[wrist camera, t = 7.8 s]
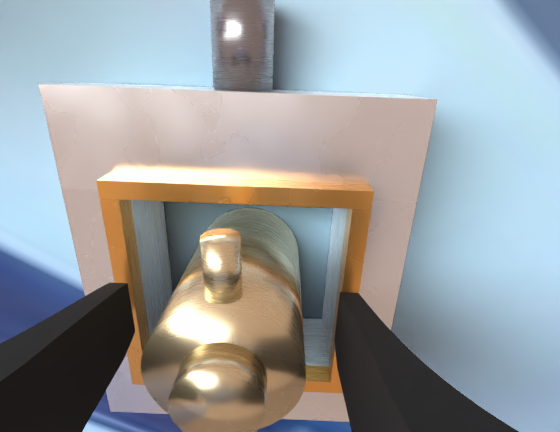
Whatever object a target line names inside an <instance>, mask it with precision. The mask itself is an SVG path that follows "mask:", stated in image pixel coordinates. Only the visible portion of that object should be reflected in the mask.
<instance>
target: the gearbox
mask: <svg viewBox="0 0 560 432" xmlns="http://www.w3.org/2000/svg"><path fill="white" fill-rule="evenodd" d="M210 8H211V35H212V62H213V87H196V86H170V85H144V84H117V83H61V84H39V89H40V93H41V98H42V102H43V107H44V111H45V116H46V120H47V125H48V130H49V134H50V139H51V143H52V148H53V152H54V157H55V161H56V166H57V170H58V175H59V180H60V184H61V189H62V193H63V198H64V202H65V207H66V211H67V216H68V220H69V225H70V230H71V234H72V239H73V243H74V248H75V252H76V257H77V261H78V266H79V270H80V275H81V279H82V284H83V289H84V293H85V296H86V295H88V294H90V293H91V292H93V291H95V290H97V289H98V288H100V287H102V286H104V285H106V284H108V283H110V282H111V283H128V289H129V295H130V301H131V307H132V313H133V320H134V326H135V334H134V336H133V339H132V341H131V344H130V346H129V348H128V351H127V353H126V355H125V358H124V360H123V361H122V363H121V365H120V367H119V369H118V370H117V372H116V374H115V376H114V377H113V379H112V381H111V383H110V384H109V386H108V388H107V389H106V393H107V398H108V402H109V407H110V411H112V412H135V413H158V414H168V413H167V412H166V411H164V410H163V409H162V408H161V407H160V406H159V405H158V404H157V403H156V402H155V401H154V399H153V398H152V397H151V395H150V394H149V392H148V391H147V389H146V386H145V384H144V382H143V378H142V374H141V358H142V354H143V350H144V348H145V346H146V344H147V342H148V340H149V338H150V336H151V334H152V332H153V330H154V328H155V326H156V324H157V323H158V321H159V319H160V317H161V315H162V313H163V311H164V309H165V307H166V305H167V304H168V302H169V300H170V298H171V296H172V294H173V291H172V281H171V272H170V262H169V252H168V242H167V232H166V222H165V213H164V203H163V201H171V202H196V203H221V204H246V205H270V206H295V207H320V208H333V214H332V224H331V234H330V244H329V253H328V263H327V273H326V283H325V293H324V303H323V312H322V319H312V318H303V333H304V349H305V365H306V383H305V388H304V391H303V394H302V396H301V398H300V400H299V402H298V403H297V404H296V406H295V407H294V408H293V409H292V410H291V411H290V412H289V413H288V414H287V415H286V416H284V417H283V418H282V419H295V420H318V421H341V422H349V417H348V413H347V409H346V404H345V400H344V396H343V391H342V387H341V383H340V378H339V374H338V369H337V361H336V352H335V342H334V338H335V330H336V321H337V313H338V305H339V297H340V292H351V293H359V294H360V295H361V297H362V298H363V299H364V300H365V301H366V303H367V304H368V305H369V306H370V307H371V309H372V310H373V311H374V312H375V313H376V314H377V316H378V317H379V318H380V319H381V320H382V321H383V323H384V324H385V325H386V326H387V327H388V328H389V329H390V330H391V328H392V323H393V318H394V313H395V308H396V303H397V298H398V293H399V288H400V283H401V278H402V273H403V268H404V263H405V258H406V253H407V248H408V243H409V238H410V233H411V228H412V223H413V218H414V213H415V208H416V203H417V198H418V193H419V188H420V183H421V178H422V173H423V168H424V164H425V159H426V154H427V149H428V144H429V139H430V134H431V129H432V124H433V119H434V114H435V109H436V104H437V99H431V98H424V97H418V96H412V95H405V94H379V93H353V92H326V91H300V90H274V89H273V54H274V14H275V0H210Z"/></svg>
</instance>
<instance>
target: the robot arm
mask: <svg viewBox="0 0 560 432" xmlns="http://www.w3.org/2000/svg"><path fill="white" fill-rule="evenodd" d="M134 334H135V326H134V320H133V313H132V307H131V301H130V295H129V289H128V283H111V282H110V283H108V284H106V285H104V286H102V287H100V288H98V289H97V290H95V291H93V292H91V293H90V294H88V295H86V296H85V297H83V298H81V299H80V300H78V301H76V302H75V303H73V304H71V305H70V306H68V307H66V308H64V309H63V310H61V311H59V312H58V313H56V314H54V315H53V316H51V317H49V318H47V319H45V320H44V321H42V322H40V323H38V324H36V325H35V326H33V327H31V328H29V329H27V330H25V331H24V332H22V333H20V334H18V335H16V336H14V337H12V338H11V339H9V340H7V341H5V342H3V343H1V344H0V432H82V431H83V429H84V427H85V425H86V423H87V422H88V420H89V418H90V417H91V415H92V413H93V411H94V410H95V408H96V406H97V405H98V403H99V401H100V400H101V398H102V396H103V394H104V393H105V391H106V389H107V388H108V386H109V384H110V383H111V381H112V379H113V377H114V376H115V374H116V372H117V370H118V369H119V367H120V365H121V363H122V361H123V360H124V358H125V355H126V353H127V351H128V348H129V346H130V344H131V341H132V339H133V336H134ZM334 342H335V352H336V361H337V369H338V374H339V378H340V383H341V387H342V391H343V396H344V400H345V404H346V409H347V413H348V417H349V422H350V426H351V430H352V432H518V431H517V430H515V429H513V428H512V427H510V426H509V425H507V424H505V423H504V422H502V421H501V420H499V419H497V418H496V417H494V416H493V415H491V414H490V413H488V412H487V411H485V410H484V409H482V408H481V407H479V406H478V405H477V404H475V403H474V402H472V401H471V400H470V399H468V398H467V397H466V396H464V395H463V394H461V393H460V392H459V391H457V390H456V389H455V388H453V387H452V386H451V385H449V384H448V383H447V382H446V381H444V380H443V379H442V378H441V377H440V376H438V375H437V374H436V373H435V372H434V371H432V370H431V369H430V368H429V367H428V366H426V365H425V364H424V363H423V362H422V361H421V360H420V359H419V358H417V357H416V356H415V355H414V354H413V353H412V352H411V351H410V350H409V349H408V348H407V347H406V346H405V345H404V344H403V343H402V342H401V341H400V340H399V339H398V338H397V337H396V336H395V335H394V334H393V332H392V331H391V330H390V329H389V328H388V327H387V326H386V325H385V324H384V323H383V321H382V320H381V319H380V318H379V317H378V316H377V314H376V313H375V312H374V311H373V310H372V309H371V307H370V306H369V305H368V304H367V303H366V301H365V300H364V299H363V298H362V297H361V295H360V294H359V293H351V292H340V297H339V305H338V313H337V321H336V330H335V338H334Z"/></svg>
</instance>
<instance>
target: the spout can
mask: <svg viewBox="0 0 560 432" xmlns="http://www.w3.org/2000/svg"><path fill="white" fill-rule="evenodd" d="M141 374H142V378H143V382H144V384H145V386H146V389H147V391H148V392H149V394H150V395H151V397H152V398H153V399H154V401H155V402H156V403H157V404H158V405H159V406H160V407H161V408H162V409H163V410H164V411H166V412H167V413H168V414H170V417H171V419H172V420H173V422H174V423H175V424H176V425H177V426H178V427H179V428H180V429H181V430H182V431H184V432H256V431H257V430H258V429H260V428H263V427H266V426H269V425H271V424H273V423H275V422H277V421H278V420H280V419H282V418H283V417H284V416H286V415H287V414H288V413H289V412H290V411H291V410H292V409H293V408H294V407H295V406H296V404H297V403H298V402H299V400H300V398H301V396H302V394H303V391H304V388H305V383H306V365H305V349H304V333H303V317H302V301H301V285H300V269H299V253H298V245H297V241H296V238H295V236H294V234H293V232H292V230H291V229H290V227H289V226H288V225H287V224H286V223H285V222H284V221H283V220H282V219H280V218H279V217H277V216H276V215H274V214H272V213H270V212H268V211H265V210H262V209H257V208H238V209H234V210H230V211H228V212H226V213H223V214H222V215H220V216H219V217H217V218H216V219H215V220H214V221H213V222H212V223H211V224H210V225H209V226H208V228H207V230H206V231H205V232H204V233H203V234H202V235H201V236H200V243H199V245H198V246H197V248H196V250H195V252H194V254H193V256H192V258H191V260H190V262H189V264H188V265H187V267H186V269H185V271H184V273H183V275H182V277H181V279H180V281H179V283H178V284H177V286H176V288H175V290H174V292H173V294H172V296H171V298H170V300H169V302H168V304H167V305H166V307H165V309H164V311H163V313H162V315H161V317H160V319H159V321H158V323H157V324H156V326H155V328H154V330H153V332H152V334H151V336H150V338H149V340H148V342H147V344H146V346H145V348H144V350H143V354H142V358H141Z"/></svg>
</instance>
